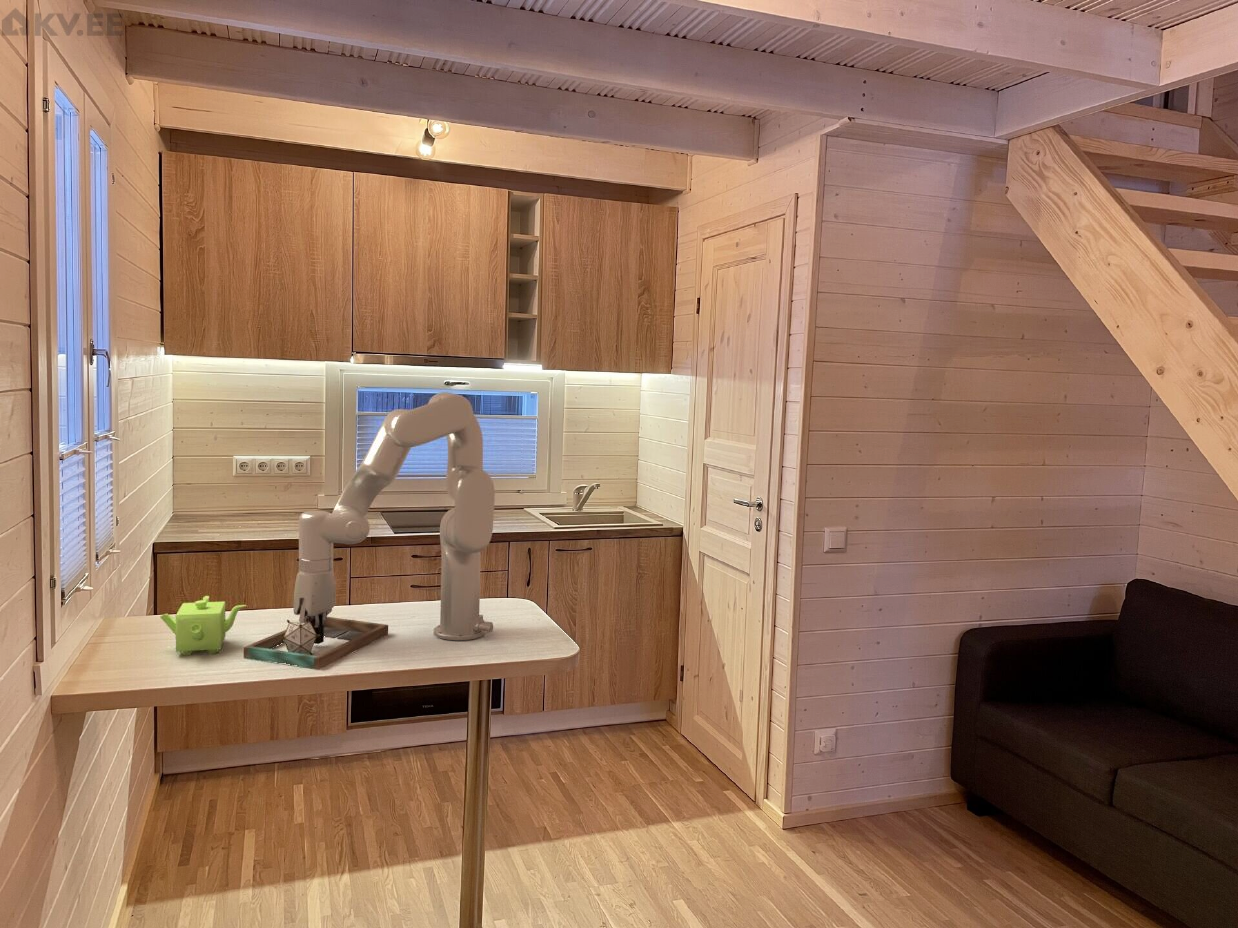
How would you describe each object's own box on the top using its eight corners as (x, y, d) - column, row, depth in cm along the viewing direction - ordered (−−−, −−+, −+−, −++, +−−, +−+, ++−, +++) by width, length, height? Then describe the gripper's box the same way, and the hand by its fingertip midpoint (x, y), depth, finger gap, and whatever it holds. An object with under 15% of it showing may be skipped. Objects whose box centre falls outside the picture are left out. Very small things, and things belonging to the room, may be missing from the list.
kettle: (207, 635, 217) (206, 589, 216) (250, 645, 211) (250, 598, 210) (151, 652, 204) (150, 603, 202) (195, 663, 198) (195, 613, 196)
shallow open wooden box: (388, 634, 223) (388, 624, 223) (318, 669, 197) (318, 658, 196) (320, 625, 229) (320, 615, 229) (243, 657, 202) (243, 646, 202)
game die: (304, 672, 205) (305, 646, 198) (270, 656, 206) (271, 630, 199) (326, 644, 212) (328, 618, 205) (294, 628, 212) (295, 602, 206)
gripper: (322, 557, 218) (321, 631, 220) (281, 569, 203) (281, 649, 205) (349, 560, 215) (348, 635, 217) (309, 573, 201) (309, 653, 203)
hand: (315, 642), depth 211 cm, fingers closed
